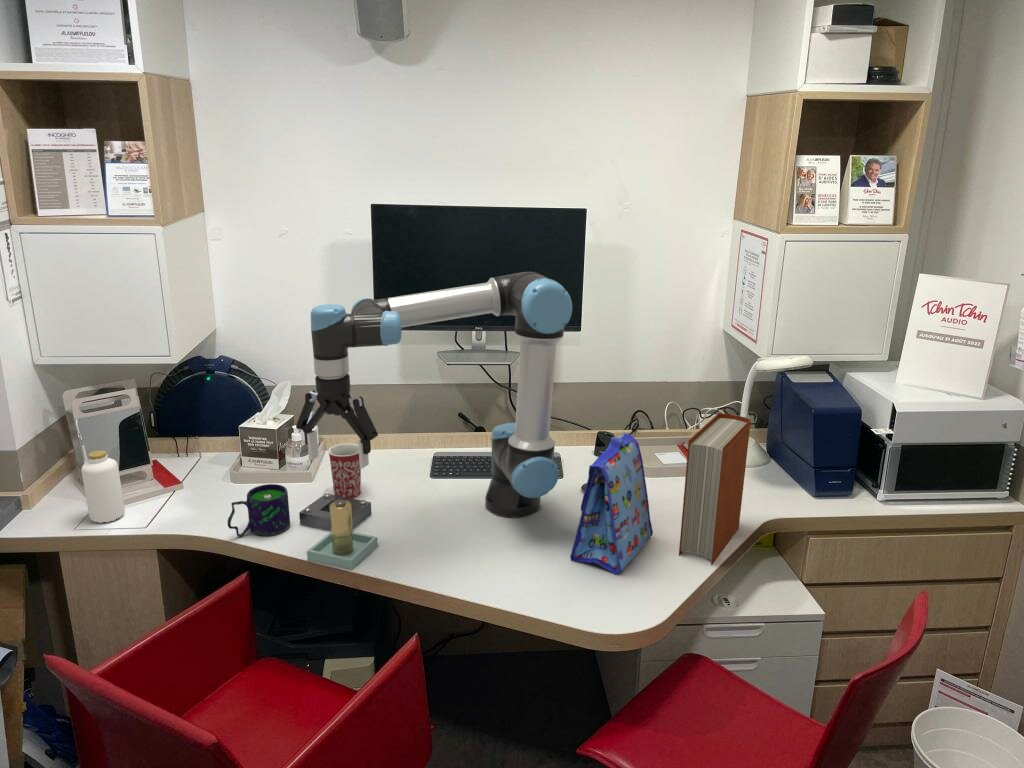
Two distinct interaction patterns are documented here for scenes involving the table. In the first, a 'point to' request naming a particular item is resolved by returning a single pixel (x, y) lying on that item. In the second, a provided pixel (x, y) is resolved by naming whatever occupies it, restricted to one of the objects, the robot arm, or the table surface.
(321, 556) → the tray
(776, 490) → the table surface
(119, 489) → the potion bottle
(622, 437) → the lunch bag
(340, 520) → the brass cylinder
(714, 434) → the book
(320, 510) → the housing
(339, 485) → the mug
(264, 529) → the mug
